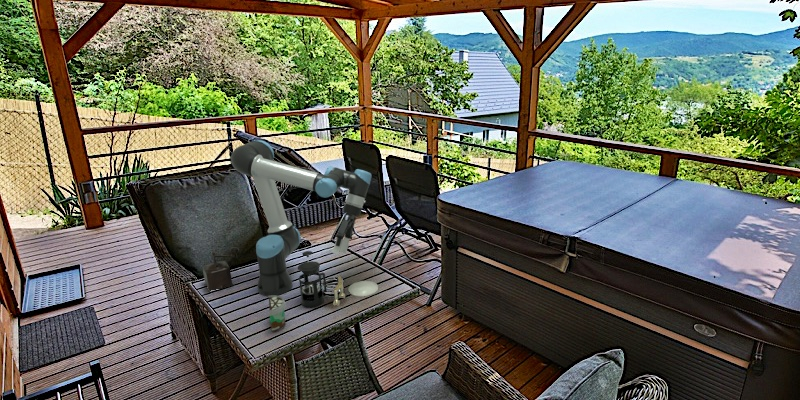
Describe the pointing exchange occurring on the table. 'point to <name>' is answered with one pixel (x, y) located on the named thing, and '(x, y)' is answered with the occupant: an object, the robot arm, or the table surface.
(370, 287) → the coaster
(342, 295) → the ceiling spotlight
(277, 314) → the food container
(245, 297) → the table surface
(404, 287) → the table surface
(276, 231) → the robot arm
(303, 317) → the table surface
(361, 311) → the table surface
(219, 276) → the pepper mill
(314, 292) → the french press
